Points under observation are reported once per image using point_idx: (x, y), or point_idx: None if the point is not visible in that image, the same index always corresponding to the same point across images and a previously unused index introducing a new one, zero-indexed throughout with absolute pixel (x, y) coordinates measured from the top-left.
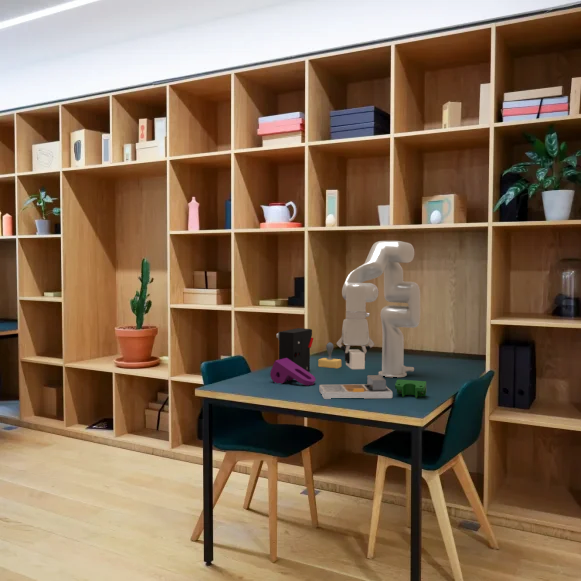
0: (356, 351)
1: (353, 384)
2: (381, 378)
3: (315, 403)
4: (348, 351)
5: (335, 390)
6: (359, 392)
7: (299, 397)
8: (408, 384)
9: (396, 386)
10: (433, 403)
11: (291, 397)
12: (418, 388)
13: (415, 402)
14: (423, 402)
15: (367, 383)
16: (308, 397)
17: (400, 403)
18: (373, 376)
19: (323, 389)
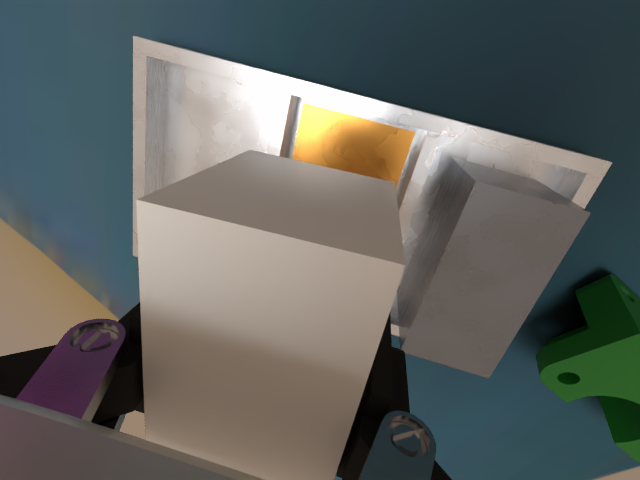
0: (258, 428)
1: (375, 102)
2: (496, 329)
3: (108, 294)
4: (128, 411)
5: (249, 95)
6: None
7: (45, 169)
8: (634, 396)
9: (540, 373)
10: (585, 469)
11: (8, 156)
12: (625, 449)
13: (523, 431)
14: (558, 444)
15: (458, 171)
16: (86, 184)
17: (447, 419)
18: (490, 246)
19: (139, 188)
